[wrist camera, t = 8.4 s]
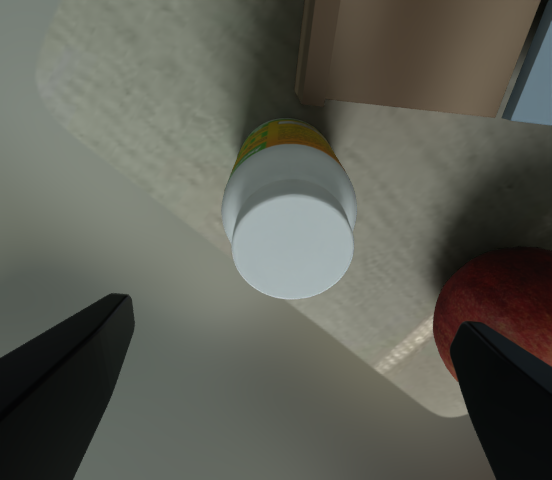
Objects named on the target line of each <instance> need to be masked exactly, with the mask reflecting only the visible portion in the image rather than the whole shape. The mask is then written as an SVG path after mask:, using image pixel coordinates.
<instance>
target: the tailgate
mask: <svg viewBox="0 0 552 480" xmlns="http://www.w3.org/2000/svg"><path fill="white" fill-rule="evenodd" d="M502 118H504V119H507V120H511V121H519V122H528V123H536V124H544V125H552V0H548V3H547V5H546V8H545V10H544V13H543V15H542V18H541V20H540V23H539V25H538V28H537V30H536V33H535V35H534V38H533V40H532V43H531V45H530V48H529V50H528V53H527V55H526V58H525V60H524V63H523V65H522V68H521V70H520V73H519V76H518V78H517V81H516V83H515V86H514V88H513V91H512V93H511V96H510V98H509V101H508V103H507V106H506V108H505V111H504V113H503V116H502Z"/></svg>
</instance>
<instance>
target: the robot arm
mask: <svg viewBox="0 0 552 480" xmlns="http://www.w3.org/2000/svg"><path fill="white" fill-rule="evenodd" d="M134 326H135V321H134V313H133V305H132V299H131V297H130V296H129V295H128V294H117V293H111V294H109V295H107V296H105V297H103V298H102V299H100V300H98V301H97V302H95V303H93V304H91V305H90V306H88V307H87V308H85V309H83V310H81V311H80V312H78V313H76V314H75V315H73V316H71V317H69V318H68V319H66V320H64V321H63V322H61V323H59V324H57V325H56V326H54V327H52V328H51V329H49V330H47V331H45V332H44V333H42V334H40V335H39V336H37V337H35V338H33V339H32V340H30V341H28V342H27V343H25V344H23V345H21V346H20V347H18V348H16V349H15V350H13V351H11V352H9V353H8V354H6V355H4V356H3V357H1V358H0V480H73V478H74V476H75V474H76V472H77V470H78V468H79V466H80V463H81V461H82V459H83V457H84V455H85V453H86V450H87V448H88V446H89V444H90V442H91V440H92V438H93V436H94V433H95V431H96V429H97V427H98V425H99V422H100V421H101V418H102V416H103V414H104V412H105V410H106V408H107V405H108V403H109V401H110V398H111V396H112V394H113V390H114V388H115V385H116V382H117V379H118V376H119V374H120V371H121V367H122V364H123V362H124V359H125V356H126V353H127V350H128V347H129V344H130V341H131V338H132V335H133V332H134ZM450 357H451V360H452V363H453V367H454V370H455V373H456V376H457V379H458V382H459V385H460V389H461V392H462V395H463V398H464V401H465V404H466V407H467V410H468V413H469V416H470V418H471V421H472V424H473V426H474V429H475V431H476V433H477V436H478V438H479V440H480V443H481V445H482V447H483V450H484V452H485V454H486V457H487V459H488V461H489V464H490V466H491V468H492V471H493V473H494V475H495V478H496V480H552V366H550V365H548V364H547V363H545V362H544V361H542V360H541V359H539V358H538V357H536V356H534V355H533V354H531V353H530V352H528V351H527V350H525V349H523V348H522V347H520V346H519V345H517V344H516V343H514V342H512V341H511V340H509V339H508V338H506V337H505V336H503V335H501V334H500V333H498V332H497V331H495V330H494V329H492V328H490V327H489V326H487V325H486V324H484V323H482V322H475V321H464V322H462V323H461V324H460V326H459V328H458V330H457V332H456V334H455V337H454V339H453V341H452V343H451V345H450Z"/></svg>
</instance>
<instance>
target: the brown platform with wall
mask: <svg viewBox="0 0 552 480" xmlns="http://www.w3.org/2000/svg"><path fill="white" fill-rule="evenodd" d="M540 1H541V0H304V9H303V17H302V26H301V34H300V43H299V52H298V60H297V69H296V77H295V86H294V91H295V93H296V95H297V96H298V98H299V100H300V102H301V104H303V105H312V106H321V107H324V102H325V99H329V100H338V101H347V102H356V103H365V104H374V105H383V106H392V107H401V108H410V109H419V110H428V111H438V112H447V113H456V114H465V115H474V116H483V117H492V118H495V117H496V114H497V112H498V109H499V106H500V104H501V101H502V99H503V96H504V94H505V91H506V88H507V86H508V83H509V81H510V78H511V76H512V73H513V70H514V68H515V65H516V63H517V60H518V58H519V55H520V52H521V50H522V47H523V45H524V42H525V39H526V37H527V34H528V32H529V29H530V27H531V24H532V21H533V19H534V16H535V14H536V11H537V9H538V6H539V3H540Z"/></svg>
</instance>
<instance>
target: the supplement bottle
mask: <svg viewBox="0 0 552 480" xmlns="http://www.w3.org/2000/svg"><path fill="white" fill-rule="evenodd" d="M356 216H357V202H356V195H355V191H354V189H353V186H352V184H351V181H350V179H349V177H348V175H347V173H346V171H345V170H344V168H343V167H342V165H341V164H340V162H339V160H338V159H337V157H336V155H335V154H334V152H333V150H332V148H331V147H330V145H329V143H328V142H327V140H326V139H325V137H324V136H323V135H322V134H321V133H320V132H319V131H318V130H317V129H316V128H314V127H313V126H312V125H310V124H308V123H306V122H304V121H301V120H298V119H293V118H279V119H274V120H271V121H268V122H266V123H264V124H262V125H260V126H259V127H257V128H256V129H255V130H254V131H253V132H251V134H250V135H249V136H248V137H247V139H246V140H245V142H244V143H243V145H242V147H241V149H240V152H239V154H238V157H237V160H236V162H235V165H234V167H233V169H232V172H231V175H230V178H229V180H228V183H227V185H226V188H225V192H224V196H223V201H222V221H223V226H224V229H225V232H226V235H227V237H228V239H229V241H230V242H231V244H232V256H233V260H234V263H235V265H236V267H237V269H238V271H239V273H240V274H241V276H242V277H243V278H244V279H245V280H246V281H247V282H248V283H249V284H250V285H251V286H253V287H254V288H255V289H257V290H258V291H260V292H263V293H264V294H267V295H269V296H272V297H276V298H281V299H301V298H307V297H311V296H314V295H317V294H319V293H322V292H324V291H325V290H327V289H329V288H330V287H332V286H333V285H334V284H336V283H337V282H338V281H339V280H340V279H341V277H342V276H343V275H344V274H345V272H346V270H347V269H348V267H349V265H350V263H351V260H352V257H353V252H354V238H353V229H354V226H355V222H356Z"/></svg>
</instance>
